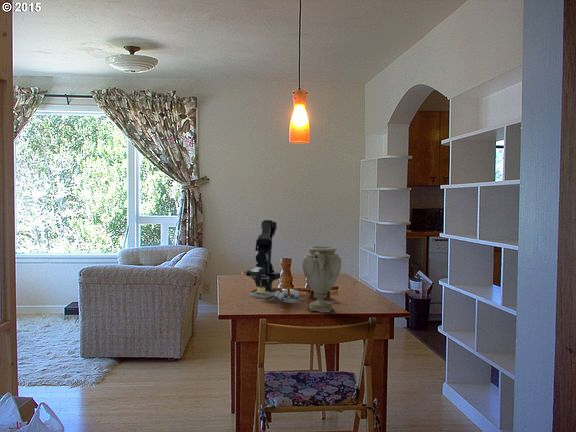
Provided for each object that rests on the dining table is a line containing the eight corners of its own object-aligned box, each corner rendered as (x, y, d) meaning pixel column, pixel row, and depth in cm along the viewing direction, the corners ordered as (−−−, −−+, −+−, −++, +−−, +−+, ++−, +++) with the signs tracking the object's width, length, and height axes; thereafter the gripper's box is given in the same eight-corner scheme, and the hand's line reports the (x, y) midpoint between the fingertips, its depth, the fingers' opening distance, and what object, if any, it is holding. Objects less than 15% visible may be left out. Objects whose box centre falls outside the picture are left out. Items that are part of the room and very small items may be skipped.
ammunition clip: (328, 299, 293) (329, 276, 292) (330, 299, 291) (330, 276, 291) (309, 299, 291) (309, 276, 290) (310, 300, 289) (310, 277, 288)
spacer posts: (285, 295, 295) (286, 288, 295) (301, 298, 289) (302, 290, 289) (271, 299, 283) (271, 292, 283) (287, 302, 278) (287, 294, 278)
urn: (300, 303, 279) (302, 244, 277) (337, 304, 279) (339, 244, 277) (301, 315, 255) (303, 249, 253) (342, 316, 255) (344, 250, 253)
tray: (260, 294, 301) (260, 290, 301) (275, 296, 296) (275, 292, 296) (249, 297, 293) (249, 293, 293) (265, 299, 288) (265, 295, 287)
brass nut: (262, 292, 298) (262, 285, 298) (269, 293, 295) (269, 286, 295) (255, 293, 293) (255, 286, 293) (263, 294, 291) (263, 287, 290)
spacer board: (282, 296, 296) (282, 295, 296) (305, 300, 288) (305, 298, 288) (267, 301, 284) (267, 299, 284) (290, 304, 277) (290, 303, 277)
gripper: (239, 261, 292) (239, 290, 293) (269, 264, 282) (268, 295, 282) (252, 259, 301) (251, 287, 302) (281, 262, 291) (280, 292, 292)
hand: (262, 290), depth 294 cm, fingers closed on brass nut, 5 cm apart
